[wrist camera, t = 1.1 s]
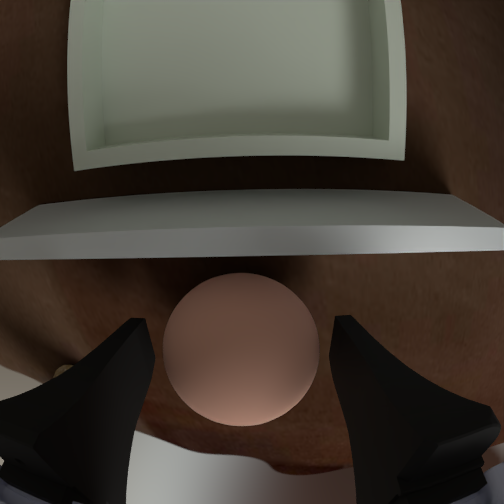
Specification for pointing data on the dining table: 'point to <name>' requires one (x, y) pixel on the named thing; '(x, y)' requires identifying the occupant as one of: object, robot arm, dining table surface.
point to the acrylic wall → (250, 225)
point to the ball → (241, 349)
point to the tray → (235, 79)
